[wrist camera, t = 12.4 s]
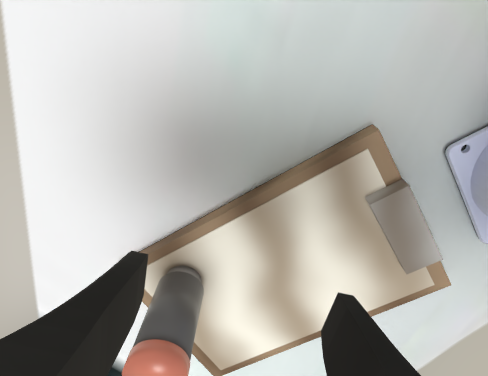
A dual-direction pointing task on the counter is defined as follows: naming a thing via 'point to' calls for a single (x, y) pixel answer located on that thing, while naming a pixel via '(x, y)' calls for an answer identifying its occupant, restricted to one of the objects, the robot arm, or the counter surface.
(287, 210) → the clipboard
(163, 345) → the marker
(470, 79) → the counter surface
